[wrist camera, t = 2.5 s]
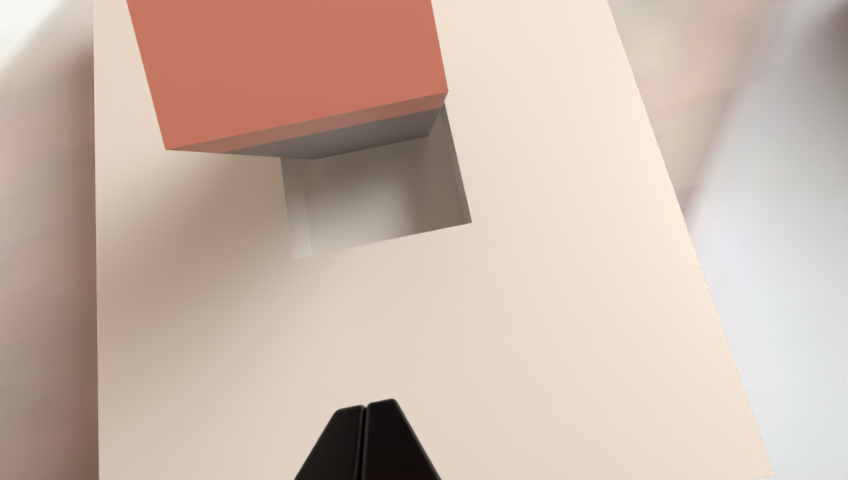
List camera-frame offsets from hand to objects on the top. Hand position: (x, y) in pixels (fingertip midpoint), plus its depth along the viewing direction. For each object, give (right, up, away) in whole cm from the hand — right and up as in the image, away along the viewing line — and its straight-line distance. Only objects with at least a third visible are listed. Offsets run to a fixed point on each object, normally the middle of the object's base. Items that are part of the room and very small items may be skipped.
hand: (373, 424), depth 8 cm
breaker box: (-1, +4, +12) cm, 13 cm away
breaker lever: (-1, +7, +9) cm, 12 cm away
